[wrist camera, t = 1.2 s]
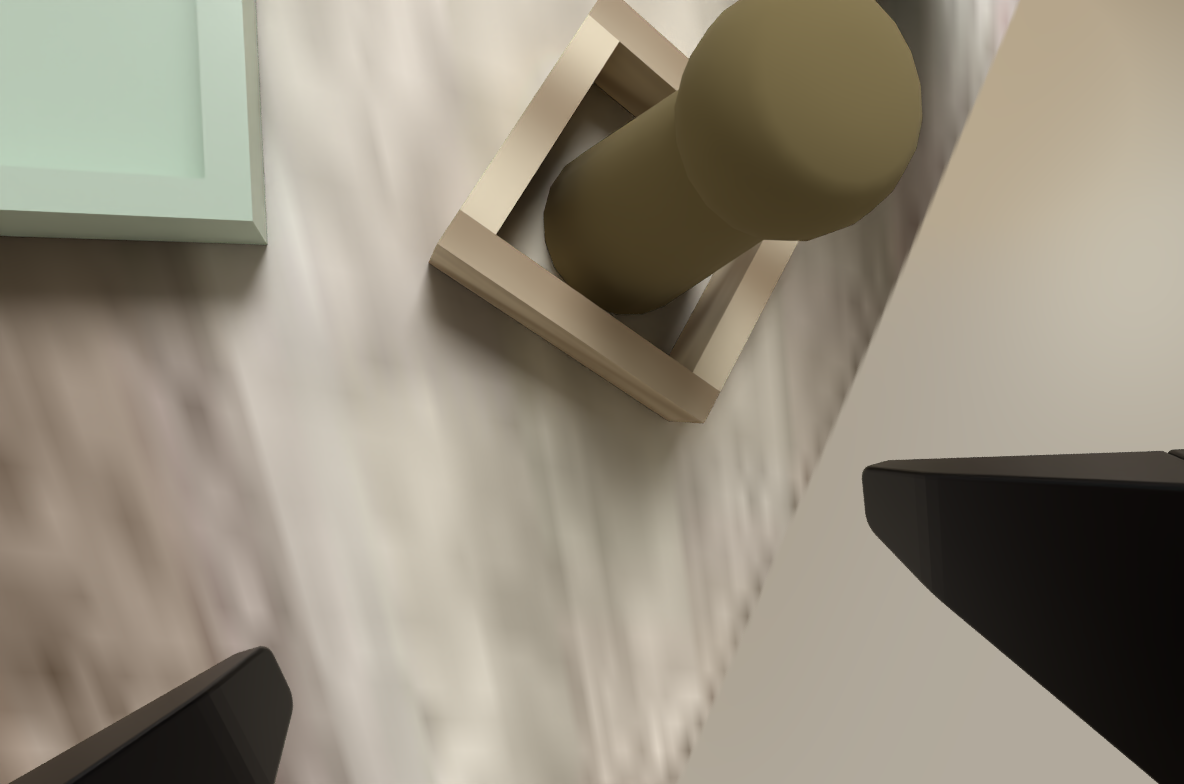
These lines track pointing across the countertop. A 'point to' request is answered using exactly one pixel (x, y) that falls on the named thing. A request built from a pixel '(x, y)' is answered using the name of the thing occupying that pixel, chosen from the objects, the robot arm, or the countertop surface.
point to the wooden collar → (551, 307)
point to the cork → (741, 152)
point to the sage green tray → (131, 121)
